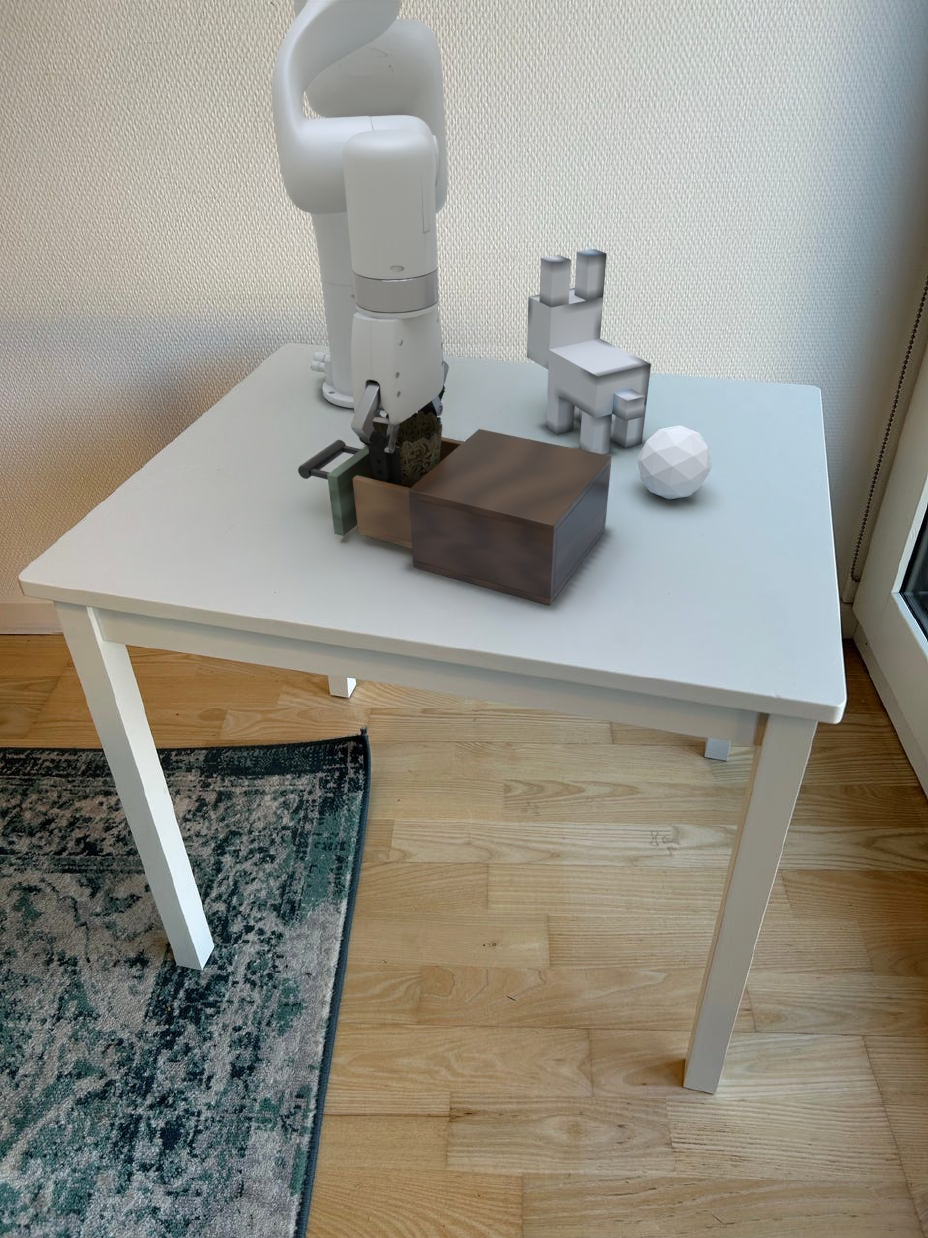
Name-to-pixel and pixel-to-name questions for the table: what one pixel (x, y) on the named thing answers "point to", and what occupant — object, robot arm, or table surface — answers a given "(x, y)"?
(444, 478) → the cabinet
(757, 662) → the table surface
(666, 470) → the geometric ball
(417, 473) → the cup
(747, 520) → the table surface
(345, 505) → the drawer
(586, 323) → the toy llama
